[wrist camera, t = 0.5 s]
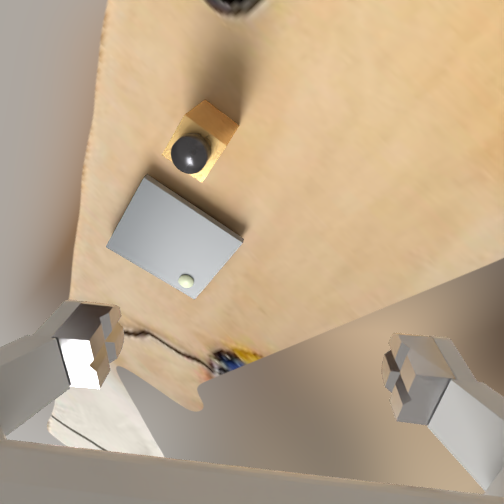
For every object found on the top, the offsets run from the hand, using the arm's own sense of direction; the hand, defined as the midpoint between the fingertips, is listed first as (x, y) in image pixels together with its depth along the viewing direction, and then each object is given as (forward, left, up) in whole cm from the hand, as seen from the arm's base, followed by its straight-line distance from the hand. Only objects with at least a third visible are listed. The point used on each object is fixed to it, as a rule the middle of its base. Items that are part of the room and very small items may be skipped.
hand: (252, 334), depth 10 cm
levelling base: (+25, -2, -36) cm, 44 cm away
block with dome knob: (+8, -6, -36) cm, 37 cm away
